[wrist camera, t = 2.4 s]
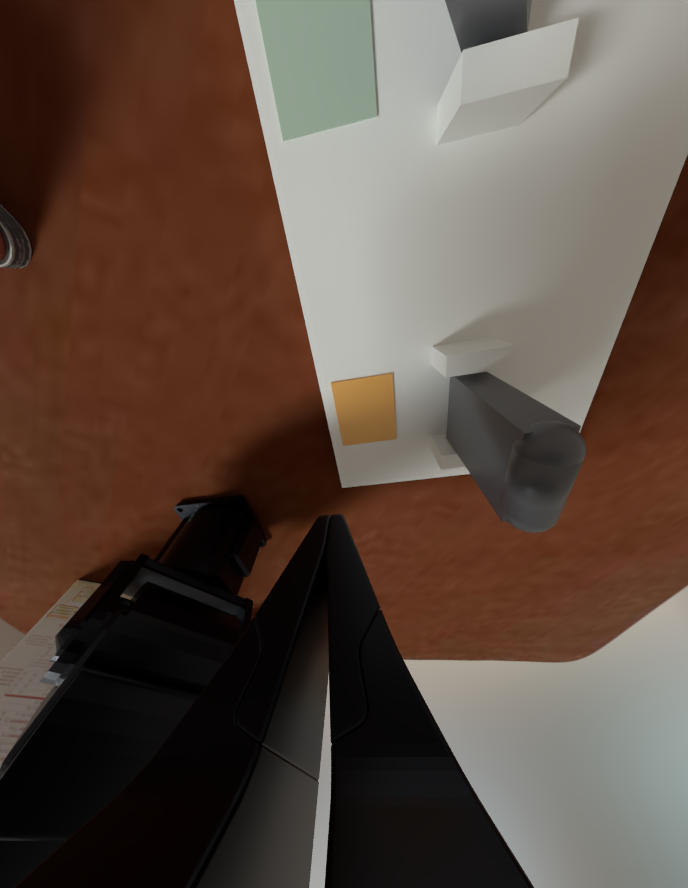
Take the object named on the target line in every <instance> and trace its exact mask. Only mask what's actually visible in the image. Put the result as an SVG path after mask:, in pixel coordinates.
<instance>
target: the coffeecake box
mask: <svg viewBox="0 0 688 888" xmlns="http://www.w3.org/2000/svg"><path fill="white" fill-rule="evenodd" d="M100 585H101V584H99V583H94V582H88V581H82V580H77V581H76V582H75V583H74V584H73V585H72V586H71V587H70V588H69V590H68V591H67V592H66V593H65V594H64V595H63V596H62V597H61V598H60V599H59V600H58V601H57V602H56V603H55V604H54V606H53V607H52V608H51V609H50V610H49V611H48V612H47V613H46V614H45V615H44V616H43V617H42V618H41V619H40V620H39V621H38V622H37V624H36V625H35V626H34V627H33V628H32V629H31V630H30V631H29V632H28V633H27V634H26V635H25V636H24V637H23V639H21V641H20V642H19V643H18V644H17V645H16V646H15V647H14V648H13V649H12V650H11V651H10V652H9V653H8V654H7V655H6V656H5V657H4V659H3V660H2V661H1V662H0V768H1V765H2V763H3V761H4V760H5V758H6V756H7V755H8V753H9V752H10V750H11V749H12V747H13V746H14V744H15V742H16V741H17V739H18V738H19V736H20V735H21V733H22V732H23V730H24V728H25V727H26V725H27V724H28V722H29V721H30V719H31V718H32V716H33V715H34V713H35V711H36V710H37V708H38V707H39V705H40V704H41V703H42V701H43V700H44V699H45V697H46V696H47V695H48V693H49V692H50V691H51V690H52V688H53V687H54V686H55V685H50V684H45V683H40V682H39V681H40V680H41V679H42V678H43V676H44V675H45V674H46V672H47V671H48V670H49V669H50V667H51V666H52V665H53V664H54V663H52V662H49V661H50V660H51V659H52V658H53V656H54V655H55V654H56V644H55V636H56V635H57V634H58V632H59V631H60V630H61V629H62V628H63V627H64V625H65V624H66V623H67V622H68V621H69V620H70V619H71V617H72V616H73V615H74V614H75V613H76V612H77V611H78V610H79V608H80V607H81V606H82V605H83V604H84V603H85V602H86V601H87V600H88V598H89V597H90V596H91V595H92V594H93V593H94V592H95V591H96V589H97V588H98V587H99V586H100ZM121 597H123V598H126V599H129V600H131V599H132V598H133V597H131V596H128V595H125V594H122V595H121Z"/></svg>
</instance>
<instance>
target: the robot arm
mask: <svg viewBox="0 0 688 888" xmlns="http://www.w3.org/2000/svg"><path fill="white" fill-rule="evenodd" d="M174 510H175V511H176V513H177V514H178V515H179V517H180V518H181V519H182V522H181V523H180V525H179V526H178V528H177V529H176V530H175V532H174V533H173V534H172V536H171V537H170V538H169V540H168V541H167V543H166V544H165V545H164V547H163V548H162V549H161V551H160V552H159V554H158V555H157V556H156V558H155V559H154V560H152V559H150V558H149V556H147V555H145V554H142V553H141V555H140V556H139V557H138V558H137V560H136V561H133V560H132V561H120V563H119V564H118V565H117V566H116V567H115V568H114V570H113V571H112V572H111V573H110V574H109V576H108V577H107V578H106V579H105V580H104V581H103V583H102V584H101V585H100V586H99V587H98V588H97V589H96V591H95V592H94V593H93V594H92V595H91V596H90V597H89V598H88V600H87V601H86V602H85V603H84V604H83V605H82V606H81V607H80V608H79V610H78V611H77V612H76V613H75V614H74V615H73V616H72V617H71V619H70V620H69V621H68V622H67V623H66V624H65V625H64V627H63V628H62V629H61V630H60V631H59V632H58V634H57V635H56V636H55V644H56V654H55V655H54V656H53V658H52V659H51V660H50V661H49V662H52V663H54V664H53V665H52V666H51V667H50V669H49V670H48V671H47V672H46V674H45V675H44V676H43V678H42V679H41V680H40V681H39V682H40V683H45V684H50V685H55V686H54V687H53V688H52V690H51V691H50V692H49V693H48V695H47V696H46V697H45V699H44V700H43V701H42V703H41V704H40V705H39V707H38V708H37V710H36V711H35V713H34V715H33V716H32V718H31V719H30V721H29V722H28V724H27V725H26V727H25V728H24V730H23V732H22V733H21V735H20V736H19V738H18V739H17V741H16V742H15V744H14V746H13V747H12V749H11V750H10V752H9V753H8V755H7V756H6V758H5V760H4V761H3V763H2V765H1V768H0V888H309V881H310V870H311V860H312V849H313V838H314V828H315V827H314V826H315V816H316V805H317V795H318V784H319V782H318V779H319V772H320V761H321V750H322V739H323V728H324V717H325V707H326V695H327V685H328V674H329V686H330V687H329V688H330V725H331V726H330V727H331V743H332V746H331V804H330V819H329V834H328V849H327V863H326V877H325V878H326V879H325V888H534V887H533V885H532V884H531V882H530V880H529V879H528V877H527V876H526V874H525V872H524V871H523V869H522V867H521V866H520V864H519V863H518V861H517V859H516V858H515V856H514V855H513V853H512V852H511V850H510V848H509V847H508V845H507V843H506V842H505V841H504V839H503V837H502V835H501V834H500V832H499V831H498V829H497V828H496V826H495V824H494V823H493V821H492V819H491V818H490V816H489V815H488V813H487V811H486V810H485V808H484V806H483V805H482V803H481V801H480V800H479V798H478V796H477V795H476V793H475V791H474V790H473V788H472V786H471V785H470V783H469V781H468V779H467V778H466V776H465V774H464V772H463V771H462V769H461V767H460V765H459V764H458V762H457V760H456V758H455V756H454V755H453V753H452V751H451V749H450V747H449V745H448V743H447V742H446V740H445V738H444V736H443V734H442V732H441V731H440V728H439V727H438V725H437V723H436V721H435V719H434V717H433V715H432V714H431V712H430V710H429V708H428V706H427V704H426V703H425V700H424V699H423V697H422V695H421V693H420V691H419V690H418V687H417V685H416V684H415V682H414V680H413V678H412V676H411V674H410V672H409V670H408V668H407V666H406V664H405V662H404V660H403V658H402V656H401V654H400V652H399V650H398V648H397V646H396V644H395V642H394V639H393V637H392V635H391V632H390V630H389V628H388V625H387V623H386V620H385V618H384V615H383V613H382V611H381V609H380V606H379V603H378V601H377V598H376V596H375V593H374V591H373V588H372V586H371V583H370V581H369V578H368V576H367V573H366V571H365V568H364V566H363V563H362V561H361V558H360V556H359V553H358V551H357V548H356V546H355V543H354V541H353V538H352V536H351V533H350V531H349V528H348V525H347V523H346V520H345V518H344V516H343V514H334V515H331V516H330V515H325V516H319V517H318V518H317V520H316V521H315V523H314V524H313V526H312V527H311V529H310V530H309V532H308V534H307V535H306V537H305V538H304V540H303V541H302V543H301V545H300V546H299V548H298V549H297V551H296V552H295V554H294V555H293V557H292V559H291V560H290V562H289V563H288V565H287V566H286V568H285V570H284V571H283V573H282V574H281V576H280V577H279V579H278V580H277V582H276V584H275V585H274V587H273V588H272V590H271V591H270V593H269V595H268V596H267V598H266V599H265V601H264V602H263V604H262V605H261V607H260V609H259V610H258V612H257V613H256V615H255V618H253V619H252V621H251V622H250V620H251V613H252V606H253V600H250V599H248V598H246V599H244V598H242V597H240V596H237V595H238V592H239V590H240V587H241V584H242V582H243V579H244V577H248V576H249V574H250V573H251V570H252V567H253V564H254V562H255V559H256V556H257V553H258V550H259V547H264V546H265V545H266V542H267V540H266V538H265V536H264V533H263V531H262V529H261V527H260V525H259V523H258V521H257V519H256V517H255V516H254V514H253V512H252V510H251V508H250V506H249V505H248V503H247V501H246V499H245V498H244V497H242V496H234V497H226V498H217V499H208V500H199V501H190V502H181V503H178V504H177V505H176V506H175V507H174ZM122 594H125V595H128V596H131V597H133V598H132V599H131V600H129V599H126V598H123V597H121V595H122Z"/></svg>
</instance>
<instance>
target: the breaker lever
mask: <svg viewBox="0 0 688 888" xmlns="http://www.w3.org/2000/svg"><path fill="white" fill-rule="evenodd" d="M580 428H581V426H580V425H578V424H577V423H575V422H573V421H572V420H570V419H568V418H566V417H565V416H563V415H561V414H559V413H558V412H556V411H554V410H552V409H551V408H549V407H547V406H546V405H544V404H542V403H540V402H539V401H537V400H535V399H533V398H532V397H530V396H528V395H527V394H525V393H523V392H521V391H520V390H518V389H516V388H514V387H513V386H511V385H509V384H507V383H506V382H504V381H502V380H501V379H499V378H497V377H495V376H494V375H492V374H490V373H488V372H480V373H474V374H467V375H460V376H454V377H450V385H449V401H448V417H447V433H446V438H447V440H448V441H449V443H450V444H451V446H452V447H453V449H454V450H455V452H456V453H457V455H458V456H459V458H460V459H461V461H462V462H463V464H464V465H465V467H466V468H467V470H468V471H469V473H470V474H471V476H472V477H473V479H474V480H475V482H476V483H477V485H478V486H479V488H480V489H481V491H482V492H483V494H484V495H485V497H486V498H487V500H488V501H489V503H490V504H491V506H492V507H493V509H494V510H495V512H496V513H497V515H498V516H499V518H500V519H501V521H502V522H504V521H507V522H509V523H510V524H511V525H512V526H514V527H515V528H517V529H519V530H522V531H526V532H543V531H546V530H548V529H550V528H551V527H552V526H554V525H555V524H556V522H557V521H558V519H559V517H560V515H561V512H562V510H563V507H564V505H565V503H566V500H567V498H568V496H569V493H570V491H571V489H572V486H573V484H574V482H575V479H576V477H577V475H578V472H579V470H580V468H581V465H582V463H583V461H584V458H585V454H586V444H585V441H584V439H583V437H582V436H581V434H580V433H579V431H580Z"/></svg>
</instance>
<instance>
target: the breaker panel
mask: <svg viewBox="0 0 688 888" xmlns="http://www.w3.org/2000/svg"><path fill="white" fill-rule="evenodd" d="M234 3H235V8H236V12H237V17H238V21H239V26H240V30H241V35H242V39H243V44H244V48H245V53H246V57H247V62H248V66H249V71H250V75H251V80H252V84H253V89H254V93H255V98H256V102H257V107H258V111H259V116H260V120H261V125H262V129H263V134H264V138H265V143H266V147H267V152H268V156H269V161H270V165H271V170H272V174H273V179H274V183H275V188H276V192H277V197H278V201H279V206H280V210H281V215H282V219H283V224H284V228H285V233H286V238H287V242H288V247H289V251H290V256H291V260H292V265H293V269H294V274H295V278H296V283H297V287H298V292H299V296H300V301H301V305H302V310H303V314H304V319H305V323H306V328H307V332H308V337H309V341H310V346H311V350H312V355H313V359H314V364H315V368H316V373H317V377H318V382H319V386H320V391H321V395H322V400H323V404H324V409H325V413H326V418H327V422H328V427H329V431H330V436H331V440H332V445H333V449H334V454H335V458H336V463H337V467H338V472H339V476H340V481H341V485H342V488H347V487H356V486H365V485H374V484H383V483H392V482H401V481H410V480H419V479H428V478H437V477H446V476H455V475H464V474H470V473H469V471H468V470H467V468H466V467H465V465H464V464H463V462H462V461H461V459H460V458H459V456H458V455H457V453H456V452H455V450H454V449H453V447H452V446H451V444H450V443H449V441H448V440H447V438H446V433H447V417H448V401H449V385H450V377H454V376H460V375H467V374H474V373H480V372H488V373H490V374H492V375H494V376H495V377H497V378H499V379H501V380H502V381H504V382H506V383H507V384H509V385H511V386H513V387H514V388H516V389H518V390H520V391H521V392H523V393H525V394H527V395H528V396H530V397H532V398H533V399H535V400H537V401H539V402H540V403H542V404H544V405H546V406H547V407H549V408H551V409H552V410H554V411H556V412H558V413H559V414H561V415H563V416H565V417H566V418H568V419H570V420H572V421H573V422H575V423H577V424H578V425H580V426H581V428H582V425H583V423H584V420H585V418H586V415H587V413H588V410H589V407H590V405H591V402H592V400H593V397H594V395H595V392H596V389H597V387H598V384H599V382H600V379H601V376H602V374H603V371H604V369H605V366H606V364H607V361H608V358H609V356H610V353H611V351H612V348H613V346H614V343H615V340H616V338H617V335H618V333H619V330H620V327H621V325H622V322H623V320H624V317H625V315H626V312H627V309H628V307H629V304H630V302H631V299H632V297H633V294H634V291H635V289H636V286H637V284H638V281H639V278H640V276H641V273H642V271H643V268H644V266H645V263H646V260H647V258H648V255H649V253H650V250H651V248H652V245H653V242H654V240H655V237H656V235H657V232H658V229H659V227H660V224H661V222H662V219H663V217H664V214H665V211H666V209H667V206H668V204H669V201H670V199H671V196H672V193H673V191H674V188H675V186H676V183H677V180H678V178H679V175H680V173H681V170H682V168H683V165H684V162H685V160H686V157H687V155H688V0H234ZM581 428H580V431H581ZM580 431H579V433H580Z"/></svg>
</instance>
